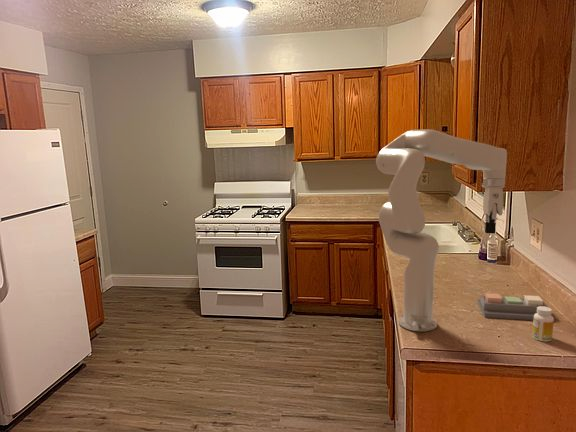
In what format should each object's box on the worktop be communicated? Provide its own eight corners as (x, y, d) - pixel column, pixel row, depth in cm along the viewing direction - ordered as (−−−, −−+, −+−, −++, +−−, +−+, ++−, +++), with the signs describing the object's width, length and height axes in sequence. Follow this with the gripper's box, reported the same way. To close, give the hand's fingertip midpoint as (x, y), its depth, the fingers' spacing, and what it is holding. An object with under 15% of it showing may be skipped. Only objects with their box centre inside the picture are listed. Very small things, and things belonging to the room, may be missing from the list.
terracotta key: (501, 307, 155) (502, 298, 154) (487, 306, 156) (488, 297, 155) (498, 302, 159) (499, 293, 159) (484, 301, 160) (485, 293, 160)
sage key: (521, 310, 154) (522, 301, 153) (507, 309, 155) (507, 301, 154) (517, 305, 158) (518, 297, 157) (504, 304, 159) (504, 296, 158)
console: (551, 321, 148) (552, 310, 147) (484, 317, 153) (485, 306, 152) (538, 306, 161) (539, 296, 160) (477, 303, 165) (477, 293, 164)
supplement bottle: (553, 337, 137) (556, 308, 135) (549, 343, 133) (552, 313, 131) (534, 332, 140) (536, 303, 139) (529, 338, 137) (532, 309, 135)
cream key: (542, 309, 152) (543, 300, 151) (527, 308, 153) (528, 300, 152) (537, 304, 156) (538, 296, 156) (523, 303, 157) (524, 295, 157)
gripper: (510, 185, 149) (506, 238, 153) (499, 180, 164) (496, 228, 167) (486, 185, 151) (483, 237, 154) (478, 180, 165) (475, 228, 169)
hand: (490, 232), depth 161 cm, fingers closed
